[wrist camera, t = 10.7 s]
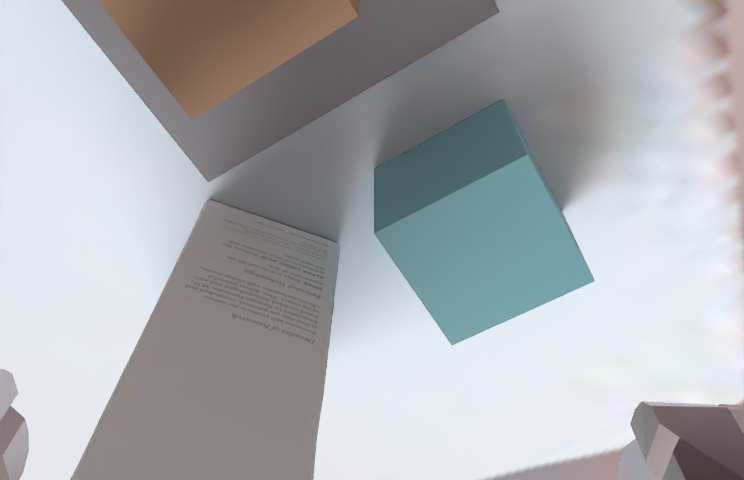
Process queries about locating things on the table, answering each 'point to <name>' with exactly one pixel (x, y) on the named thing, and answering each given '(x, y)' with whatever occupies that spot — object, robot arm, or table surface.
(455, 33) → the baseplate
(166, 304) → the skincare box
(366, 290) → the table surface
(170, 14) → the walnut brick
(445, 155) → the teal block
